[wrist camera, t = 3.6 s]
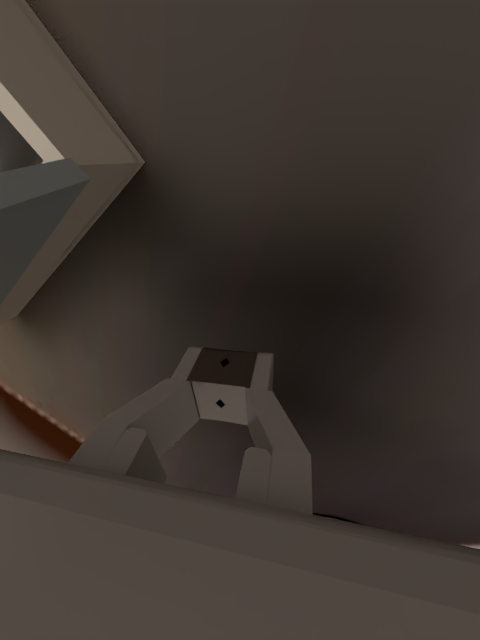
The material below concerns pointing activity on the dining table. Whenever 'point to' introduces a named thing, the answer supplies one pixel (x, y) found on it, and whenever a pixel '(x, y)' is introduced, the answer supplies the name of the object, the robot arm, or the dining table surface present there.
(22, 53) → the white open box
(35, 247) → the panel
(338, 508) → the dining table surface
